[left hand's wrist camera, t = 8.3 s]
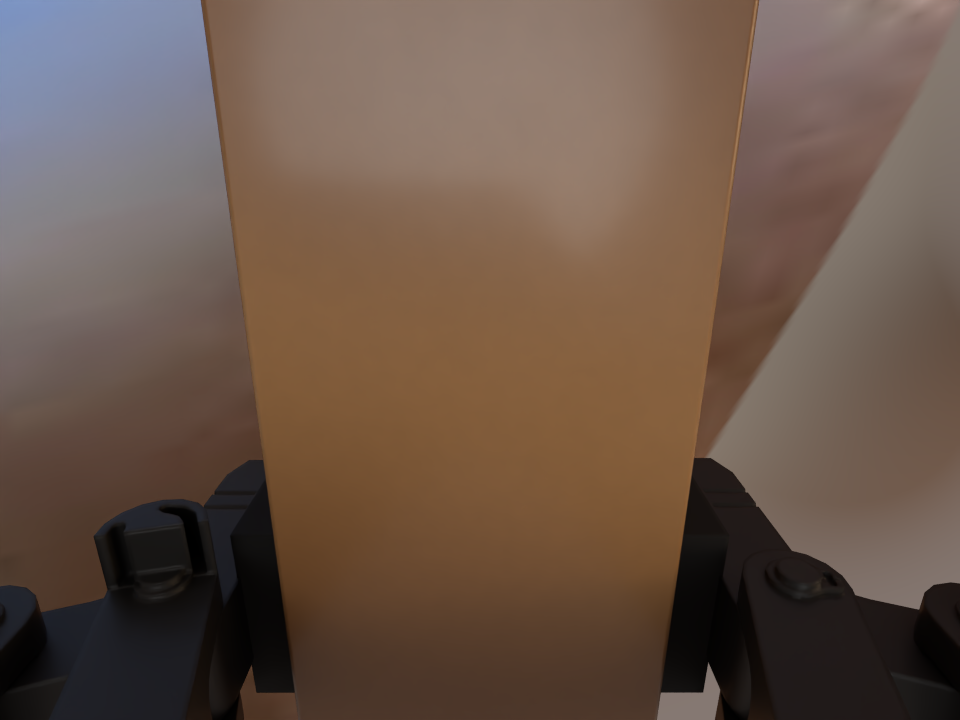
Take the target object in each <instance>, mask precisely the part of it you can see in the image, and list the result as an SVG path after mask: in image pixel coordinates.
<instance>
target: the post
mask: <svg viewBox="0 0 960 720" xmlns="http://www.w3.org/2000/svg"><path fill="white" fill-rule="evenodd" d="M201 5H202V13H203V20H204V27H205V35H206V42H207V49H208V57H209V64H210V71H211V79H212V86H213V94H214V101H215V108H216V116H217V123H218V130H219V138H220V145H221V152H222V160H223V167H224V174H225V182H226V189H227V197H228V204H229V211H230V219H231V226H232V233H233V241H234V248H235V255H236V263H237V270H238V278H239V285H240V292H241V300H242V307H243V314H244V322H245V329H246V336H247V344H248V351H249V358H250V366H251V373H252V381H253V388H254V395H255V403H256V410H257V417H258V425H259V432H260V439H261V447H262V454H263V461H264V469H265V476H266V484H267V491H268V498H269V506H270V513H271V520H272V528H273V535H274V542H275V550H276V557H277V564H278V572H279V579H280V587H281V594H282V601H283V609H284V616H285V623H286V631H287V638H288V645H289V653H290V660H291V668H292V675H293V682H294V690H295V697H296V704H297V712H298V719H299V720H657V715H658V708H659V701H660V694H661V687H662V680H663V673H664V666H665V659H666V652H667V645H668V638H669V631H670V624H671V617H672V610H673V603H674V596H675V588H676V581H677V574H678V567H679V560H680V553H681V546H682V539H683V532H684V525H685V518H686V511H687V504H688V497H689V490H690V483H691V476H692V469H693V462H694V455H695V448H696V441H697V434H698V427H699V420H700V413H701V406H702V399H703V392H704V385H705V377H706V370H707V363H708V356H709V349H710V342H711V335H712V328H713V321H714V314H715V307H716V300H717V293H718V286H719V279H720V272H721V265H722V258H723V251H724V244H725V237H726V230H727V223H728V216H729V209H730V202H731V195H732V188H733V181H734V174H735V167H736V159H737V152H738V145H739V138H740V131H741V124H742V117H743V110H744V103H745V96H746V89H747V82H748V75H749V68H750V61H751V54H752V47H753V40H754V33H755V26H756V19H757V12H758V5H759V0H201Z"/></svg>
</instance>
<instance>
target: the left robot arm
mask: <svg viewBox="0 0 960 720" xmlns="http://www.w3.org/2000/svg"><path fill="white" fill-rule="evenodd" d="M94 540H95V543H96V547H97V551H98V555H99V559H100V563H101V566H102V570H103V574H104V578H105V582H106V585H107V589H108V590H107V593H106V595H105V597H104V598H103V599H99V600H96V601H92V602H88V603H83V604H79V605H74V606H69V607H65V608H60V609H55V610H51V611H46V612H41V611H40V608H39V604H38V601H37V598H36V595H35V594H33V593H32V592H31V591H30V590H29V589H27V588H24V587H18V586H11V585H8V586H0V720H244V714H243V707H242V700H241V695H240V690H241V688H242V685H243V683H244V681H245V678H246V676H247V674H248V671H249V669H250V667H251V664H252V669H253V675H254V681H255V687H256V692H257V693H295V690H294V682H293V675H292V668H291V660H290V653H289V645H288V638H287V631H286V623H285V616H284V609H283V601H282V594H281V587H280V579H279V572H278V564H277V557H276V550H275V542H274V535H273V528H272V520H271V513H270V506H269V498H268V491H267V484H266V476H265V469H264V461H263V460H249V461H247V462H246V463H244V464H243V465H241V466H240V467H238V468H237V469H235V470H234V471H232V472H230V473H229V474H227V476H226V477H225V478H224V480H223V481H222V482H221V484H220V485H219V486H218V488H217V489H216V490H215V494H214V495H212V496H211V497H210V498H209V500H208V501H207V502H206V504H205V505H204V507H203V506H201V505H200V504H199V503H197V502H192V501H188V500H184V499H176V500H161V501H156V502H152V503H147V504H143V505H140V506H137V507H135V508H133V509H130V510H128V511H125V512H123V513H121V514H119V515H118V516H116V517H114V518H113V519H111V520H110V521H108V522H107V523H105V524H104V525H103V526H102V527H101V528H100V530H99V531H98V532H97V533H96V534H95V535H94ZM708 662H709V665H710V667H711V669H712V671H713V674H714V676H715V678H716V681H717V683H718V685H719V688H720V695H719V700H718V706H717V711H716V717H715V720H960V584H959V583H944V584H937V585H933V586H932V587H931V588H930V589H928V590H927V591H926V592H925V593H924V596H923V599H922V603H921V606H920V609H919V610H917V609H913V608H908V607H903V606H899V605H894V604H889V603H884V602H880V601H875V600H870V599H867V598H863V597H860V596H856V595H855V594H854V592H853V589H852V588H851V587H850V585H849V584H848V583H847V581H846V580H845V579H844V577H843V576H842V575H841V574H839V573H838V572H837V571H835V570H834V569H833V568H831V567H830V566H829V565H827V564H826V563H824V562H821V561H819V560H817V559H815V558H813V557H811V556H808V555H806V554H802V553H798V552H794V551H791V549H790V548H789V547H788V545H787V544H786V543H785V541H784V540H783V539H782V537H781V536H780V535H779V533H778V532H777V531H776V529H775V528H774V527H773V525H772V524H771V523H770V521H769V520H768V519H767V517H766V516H765V515H764V513H763V512H762V511H761V509H760V508H759V507H756V503H755V502H754V500H753V499H752V498H751V496H750V495H749V494H748V493H746V492H745V488H744V487H743V486H742V484H741V483H740V482H739V480H738V479H737V478H736V476H735V475H734V474H733V472H731V471H730V470H728V469H727V468H725V467H723V466H722V465H720V464H719V463H717V462H716V461H714V460H713V459H711V458H694V462H693V469H692V476H691V483H690V490H689V497H688V504H687V511H686V518H685V525H684V532H683V539H682V546H681V553H680V560H679V567H678V574H677V581H676V588H675V596H674V603H673V610H672V617H671V624H670V631H669V638H668V645H667V652H666V659H665V666H664V673H663V680H662V687H661V692H703V690H704V684H705V678H706V672H707V666H708Z"/></svg>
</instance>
